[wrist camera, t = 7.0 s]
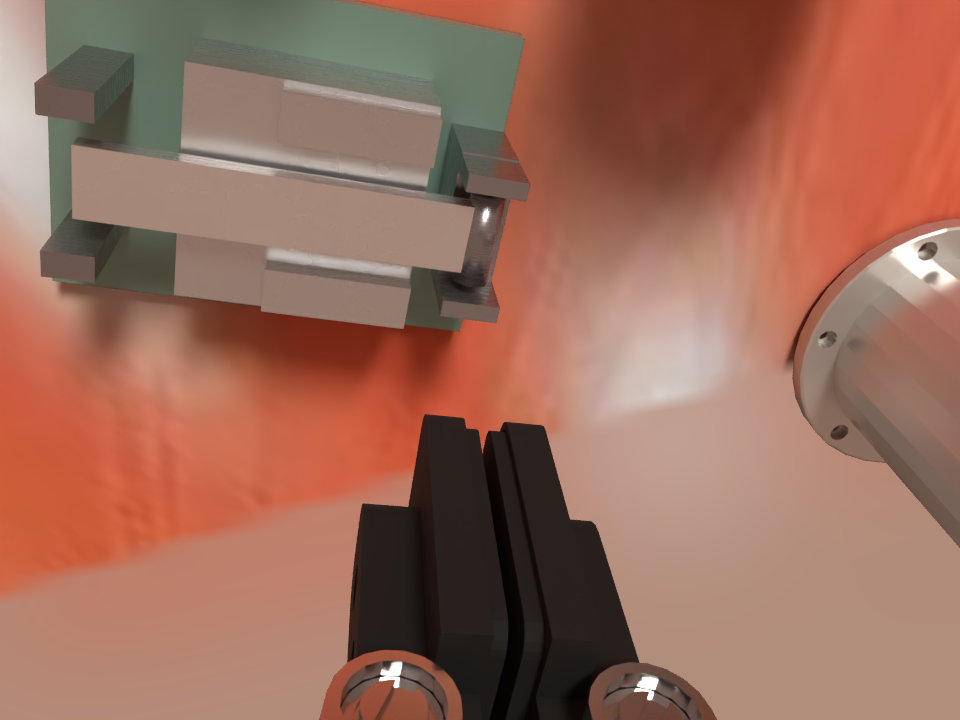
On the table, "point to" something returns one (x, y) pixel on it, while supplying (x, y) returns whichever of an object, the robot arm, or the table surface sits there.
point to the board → (279, 27)
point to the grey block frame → (296, 147)
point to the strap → (284, 208)
